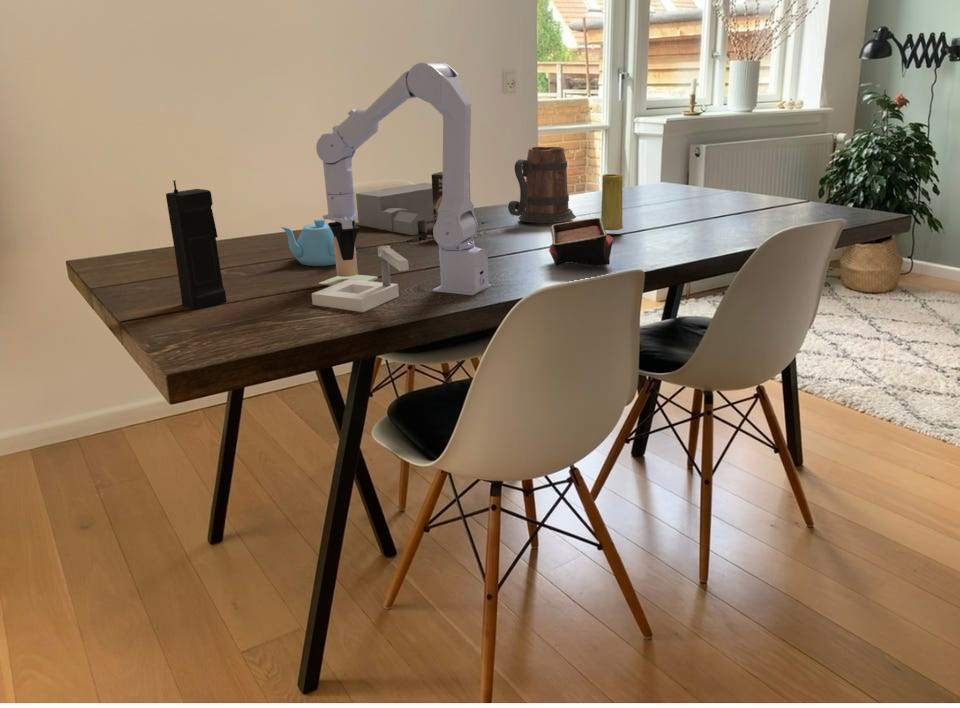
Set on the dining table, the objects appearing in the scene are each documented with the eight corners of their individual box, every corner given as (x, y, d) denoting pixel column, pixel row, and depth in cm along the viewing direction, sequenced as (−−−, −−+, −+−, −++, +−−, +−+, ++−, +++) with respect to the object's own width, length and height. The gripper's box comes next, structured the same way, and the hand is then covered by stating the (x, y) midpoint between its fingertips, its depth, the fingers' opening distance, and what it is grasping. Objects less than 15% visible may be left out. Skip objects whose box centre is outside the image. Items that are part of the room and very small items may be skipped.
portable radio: (215, 300, 165) (196, 174, 157) (233, 304, 162) (214, 176, 153) (180, 309, 160) (159, 180, 151) (198, 314, 156) (176, 181, 148)
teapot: (304, 256, 203) (299, 214, 199) (363, 254, 201) (359, 213, 198) (285, 270, 189) (279, 225, 186) (348, 268, 187) (343, 224, 184)
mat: (377, 278, 177) (377, 276, 176) (352, 289, 169) (352, 286, 169) (344, 275, 181) (344, 273, 181) (318, 285, 173) (318, 282, 173)
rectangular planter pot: (547, 281, 181) (546, 239, 175) (551, 246, 196) (550, 207, 190) (613, 280, 179) (614, 238, 173) (612, 246, 194) (613, 206, 188)
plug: (361, 272, 175) (358, 235, 173) (349, 277, 171) (345, 239, 169) (345, 271, 177) (341, 235, 175) (332, 275, 173) (328, 238, 171)
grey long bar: (376, 255, 160) (376, 246, 159) (388, 254, 160) (388, 245, 160) (398, 271, 146) (397, 261, 145) (410, 269, 147) (410, 260, 146)
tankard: (545, 210, 251) (544, 144, 245) (587, 216, 240) (588, 146, 233) (490, 222, 236) (487, 151, 230) (532, 228, 225) (531, 154, 218)
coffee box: (433, 234, 222) (430, 174, 216) (441, 230, 227) (438, 171, 222) (465, 235, 219) (462, 174, 213) (472, 230, 225) (470, 171, 219)
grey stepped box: (411, 242, 214) (408, 200, 211) (359, 232, 230) (355, 193, 227) (480, 227, 230) (478, 188, 227) (426, 219, 246) (424, 182, 243)
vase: (599, 230, 218) (599, 176, 213) (601, 226, 223) (601, 173, 219) (622, 230, 216) (623, 176, 212) (623, 226, 222) (624, 173, 217)
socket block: (398, 296, 162) (396, 256, 160) (363, 312, 152) (359, 270, 150) (350, 290, 168) (346, 252, 165) (312, 306, 158) (308, 265, 155)
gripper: (317, 190, 174) (323, 252, 179) (324, 199, 161) (331, 266, 166) (349, 187, 176) (355, 249, 181) (360, 196, 163) (365, 262, 167)
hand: (346, 257), depth 173 cm, fingers closed on plug, 4 cm apart
